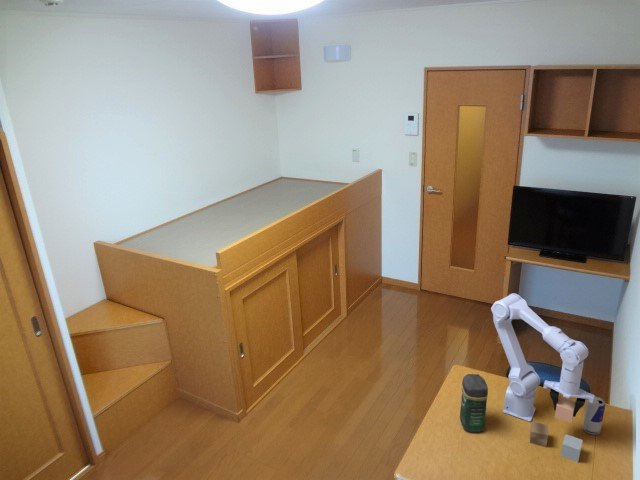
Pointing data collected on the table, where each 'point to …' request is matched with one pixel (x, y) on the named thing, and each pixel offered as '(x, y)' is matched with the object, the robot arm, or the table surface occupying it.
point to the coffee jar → (473, 403)
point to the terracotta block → (565, 409)
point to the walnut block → (539, 434)
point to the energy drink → (594, 416)
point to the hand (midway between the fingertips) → (565, 411)
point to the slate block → (571, 448)
